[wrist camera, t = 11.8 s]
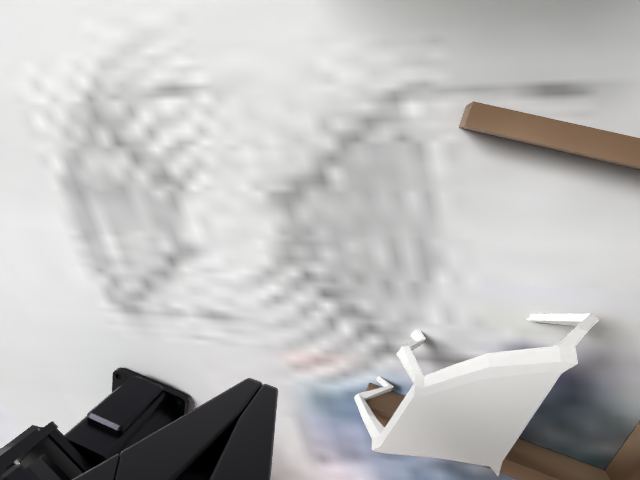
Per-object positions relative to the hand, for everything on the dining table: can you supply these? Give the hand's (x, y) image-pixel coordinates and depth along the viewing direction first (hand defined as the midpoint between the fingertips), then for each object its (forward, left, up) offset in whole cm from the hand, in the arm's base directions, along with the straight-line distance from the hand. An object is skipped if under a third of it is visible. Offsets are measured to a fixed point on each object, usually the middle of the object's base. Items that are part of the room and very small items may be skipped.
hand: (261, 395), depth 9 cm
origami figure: (-4, -8, -12) cm, 15 cm away
